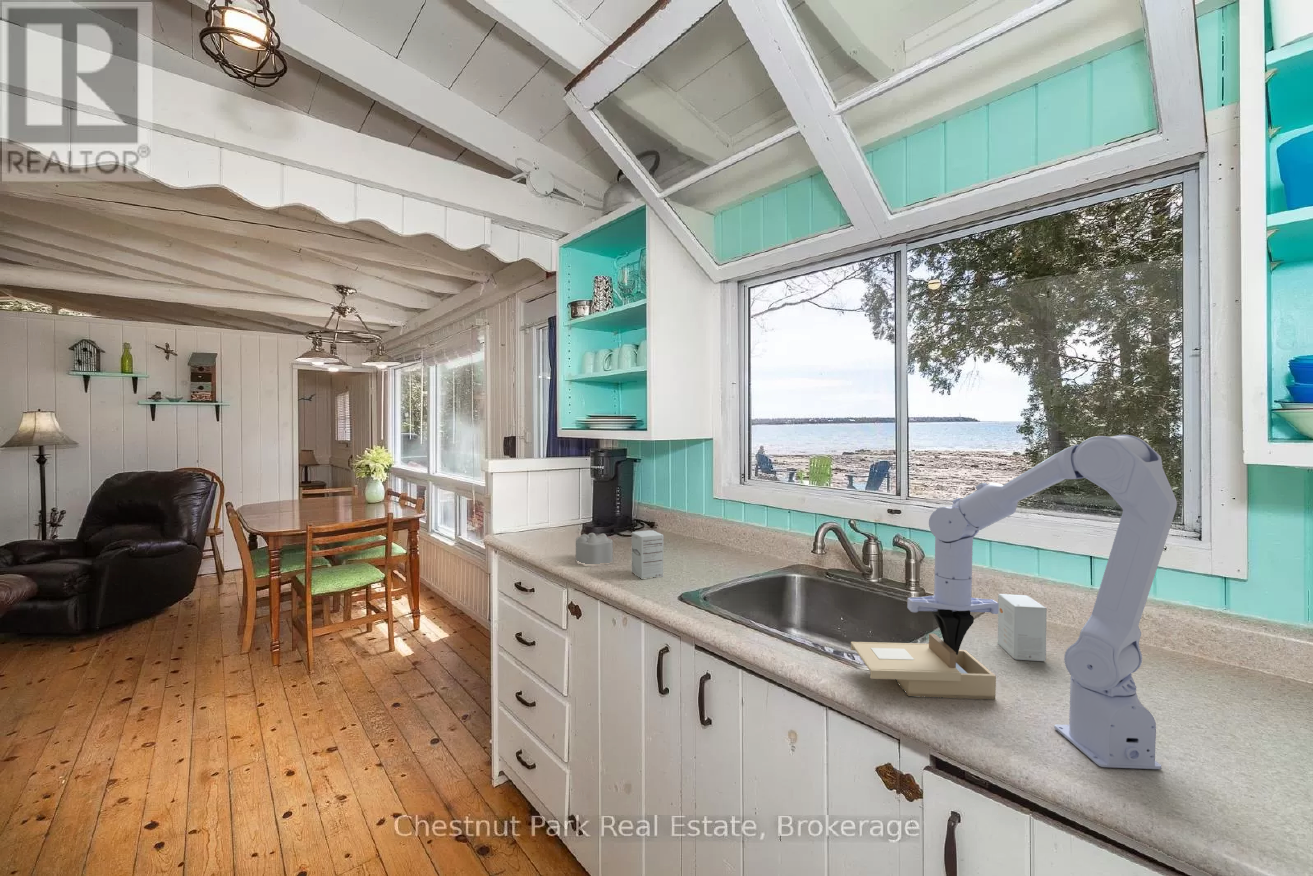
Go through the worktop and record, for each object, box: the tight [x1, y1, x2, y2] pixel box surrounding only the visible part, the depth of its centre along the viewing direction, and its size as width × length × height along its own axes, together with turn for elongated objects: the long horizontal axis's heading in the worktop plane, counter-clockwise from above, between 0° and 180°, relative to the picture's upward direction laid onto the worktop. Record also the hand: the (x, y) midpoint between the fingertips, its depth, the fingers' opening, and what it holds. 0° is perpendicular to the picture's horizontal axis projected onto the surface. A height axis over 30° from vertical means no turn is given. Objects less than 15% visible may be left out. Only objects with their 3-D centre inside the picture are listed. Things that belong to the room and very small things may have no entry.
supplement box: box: [631, 529, 664, 580], centre depth 161 cm, size 7×7×13 cm
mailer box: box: [895, 649, 997, 701], centre depth 96 cm, size 10×14×4 cm
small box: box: [997, 593, 1048, 662], centre depth 108 cm, size 8×6×10 cm
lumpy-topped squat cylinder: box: [575, 532, 614, 564], centre depth 177 cm, size 10×13×9 cm
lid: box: [850, 633, 961, 681], centre depth 96 cm, size 12×14×4 cm
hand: (951, 652), depth 95 cm, fingers closed
